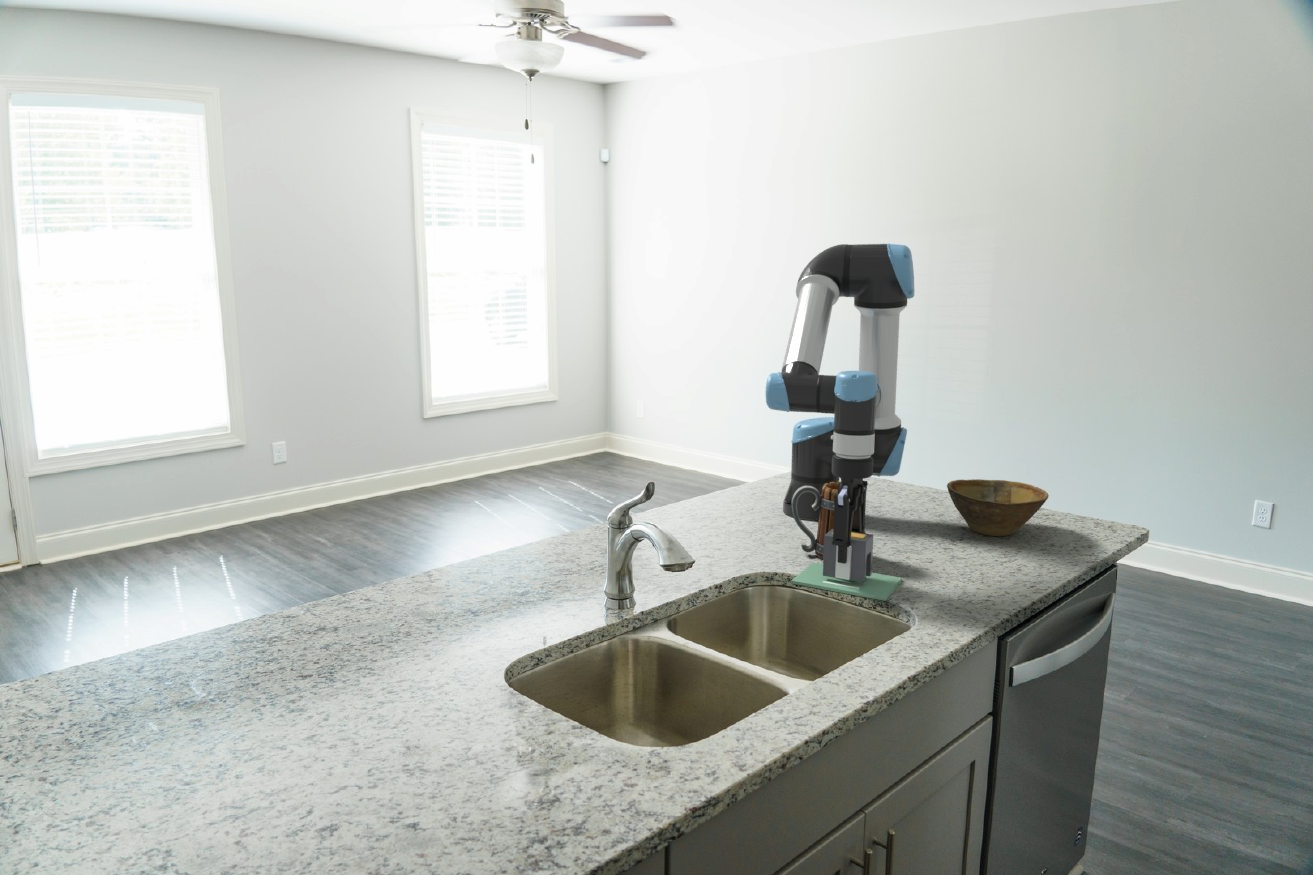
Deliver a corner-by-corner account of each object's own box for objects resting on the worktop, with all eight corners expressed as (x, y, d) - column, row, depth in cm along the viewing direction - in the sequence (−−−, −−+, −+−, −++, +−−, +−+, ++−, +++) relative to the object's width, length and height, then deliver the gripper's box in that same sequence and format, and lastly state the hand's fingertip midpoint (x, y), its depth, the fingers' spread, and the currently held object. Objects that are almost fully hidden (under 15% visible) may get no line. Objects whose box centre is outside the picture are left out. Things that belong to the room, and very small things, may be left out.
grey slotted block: (831, 568, 173) (832, 527, 172) (871, 574, 169) (873, 533, 168) (822, 575, 169) (824, 534, 167) (864, 582, 165) (866, 540, 164)
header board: (812, 565, 179) (813, 543, 178) (901, 580, 170) (903, 557, 169) (791, 583, 169) (792, 560, 168) (885, 600, 160) (886, 576, 159)
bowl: (1053, 526, 207) (1057, 484, 205) (1035, 552, 188) (1039, 506, 186) (957, 512, 218) (960, 472, 217) (931, 535, 200) (934, 492, 198)
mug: (861, 548, 190) (864, 480, 187) (869, 564, 179) (873, 493, 177) (788, 546, 191) (790, 479, 188) (792, 562, 180) (794, 491, 178)
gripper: (847, 444, 174) (842, 557, 179) (817, 461, 159) (812, 584, 163) (885, 448, 171) (879, 563, 175) (858, 466, 155) (852, 592, 160)
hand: (847, 573), depth 169 cm, fingers closed on grey slotted block, 5 cm apart
